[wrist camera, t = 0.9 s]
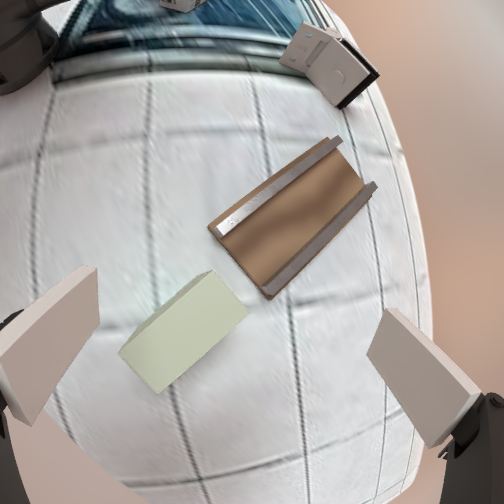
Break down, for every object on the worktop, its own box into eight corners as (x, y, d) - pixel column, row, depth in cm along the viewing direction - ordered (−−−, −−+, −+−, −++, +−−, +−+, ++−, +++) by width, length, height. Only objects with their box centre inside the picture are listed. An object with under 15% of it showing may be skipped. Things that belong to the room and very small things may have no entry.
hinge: (276, 61, 38) (301, 21, 28) (292, 52, 39) (316, 15, 30) (340, 113, 40) (376, 80, 30) (351, 100, 41) (384, 69, 32)
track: (207, 226, 31) (211, 220, 28) (324, 139, 38) (334, 130, 35) (268, 299, 32) (277, 300, 29) (368, 197, 39) (381, 191, 36)
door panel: (137, 327, 27) (117, 353, 16) (196, 275, 30) (213, 269, 19) (161, 354, 28) (157, 394, 16) (220, 302, 31) (250, 312, 19)
